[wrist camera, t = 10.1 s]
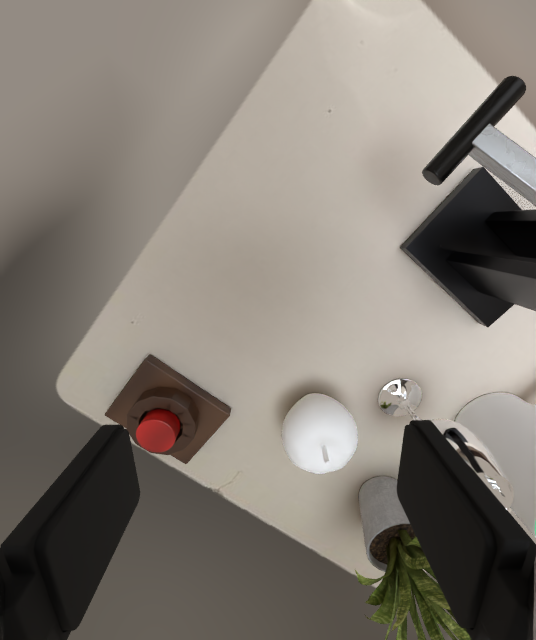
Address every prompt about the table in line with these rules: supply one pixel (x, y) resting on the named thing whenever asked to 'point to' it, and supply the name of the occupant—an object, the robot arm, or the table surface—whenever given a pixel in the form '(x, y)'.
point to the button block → (169, 407)
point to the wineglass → (450, 437)
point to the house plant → (400, 566)
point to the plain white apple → (319, 434)
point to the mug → (508, 444)
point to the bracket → (479, 248)
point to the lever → (489, 144)
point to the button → (158, 430)
